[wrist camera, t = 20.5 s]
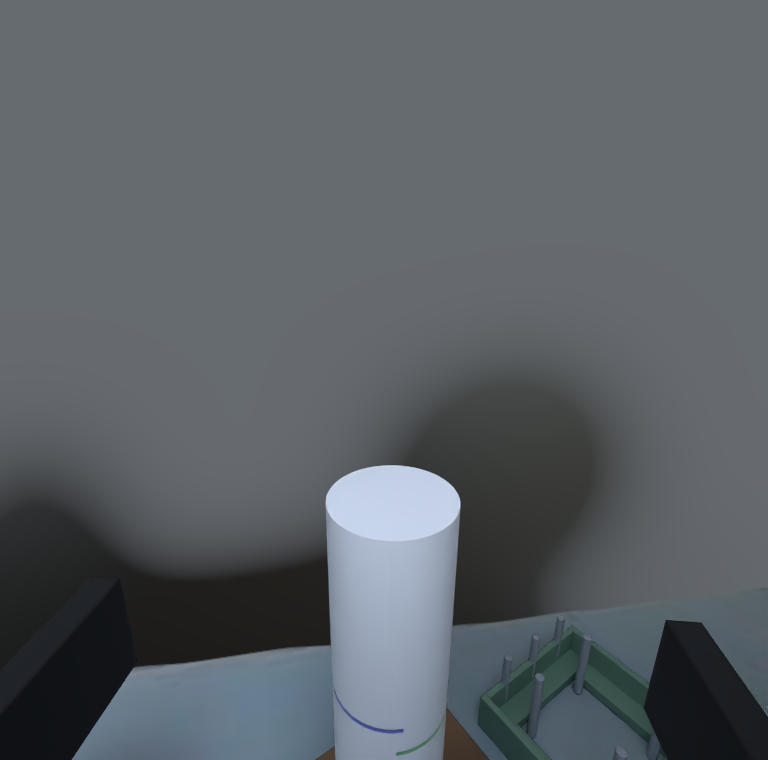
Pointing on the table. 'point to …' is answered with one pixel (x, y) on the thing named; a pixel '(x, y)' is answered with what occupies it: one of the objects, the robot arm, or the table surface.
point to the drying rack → (550, 676)
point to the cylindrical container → (391, 610)
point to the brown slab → (446, 743)
